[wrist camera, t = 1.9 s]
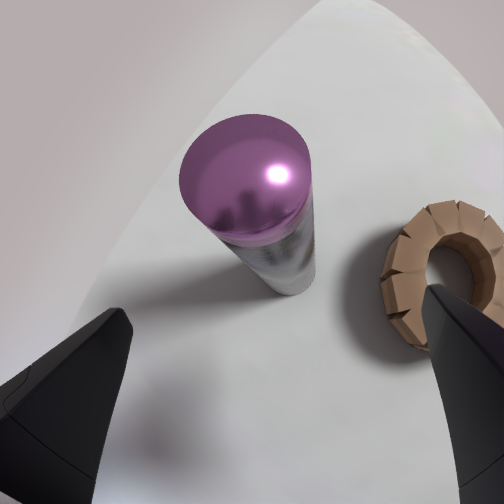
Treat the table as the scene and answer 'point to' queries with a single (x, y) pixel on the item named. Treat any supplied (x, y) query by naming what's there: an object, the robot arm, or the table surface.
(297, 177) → the purple capped tube
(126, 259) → the table surface
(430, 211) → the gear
